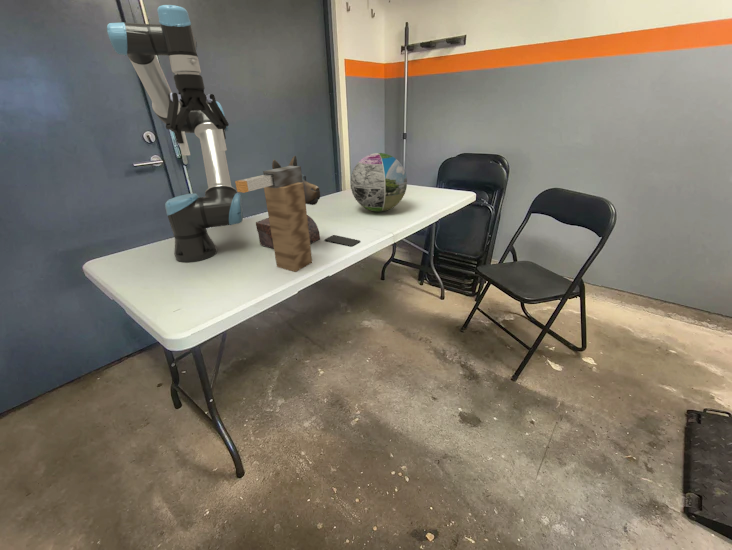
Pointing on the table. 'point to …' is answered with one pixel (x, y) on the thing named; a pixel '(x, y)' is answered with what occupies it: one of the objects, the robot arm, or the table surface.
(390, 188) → the photo panel ball
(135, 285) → the table surface
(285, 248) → the pedestal
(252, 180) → the orange-tipped white stick
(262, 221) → the dog bust
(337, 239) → the smartphone
